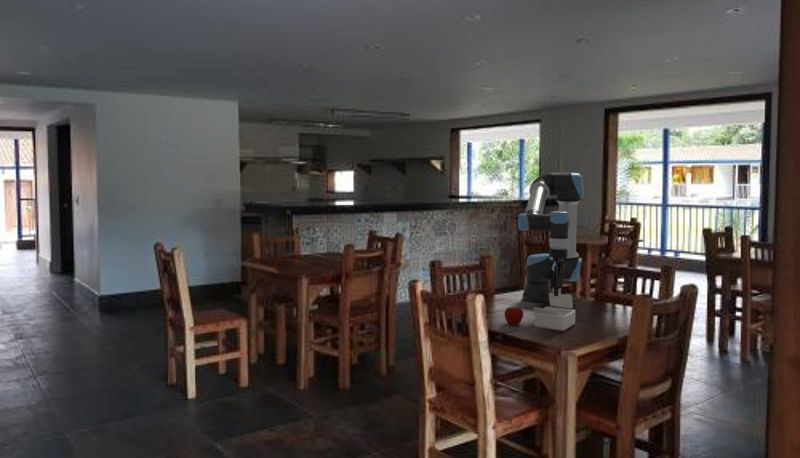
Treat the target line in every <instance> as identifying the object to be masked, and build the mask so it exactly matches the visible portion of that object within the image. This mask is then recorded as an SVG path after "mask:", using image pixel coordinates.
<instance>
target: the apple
mask: <svg viewBox="0 0 800 458" xmlns="http://www.w3.org/2000/svg"><path fill="white" fill-rule="evenodd" d="M523 316H524V312H523V310H522V309H521V308H520V307H518V306H517V307H516V306H509V307H507V308H505V311H504V319H505V321H506V323H507V324H509V325H511V326H518V325H519V324H521V322H522V320H523Z"/></svg>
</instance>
